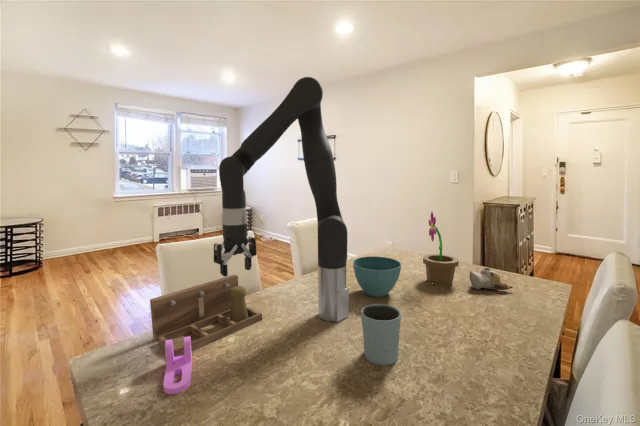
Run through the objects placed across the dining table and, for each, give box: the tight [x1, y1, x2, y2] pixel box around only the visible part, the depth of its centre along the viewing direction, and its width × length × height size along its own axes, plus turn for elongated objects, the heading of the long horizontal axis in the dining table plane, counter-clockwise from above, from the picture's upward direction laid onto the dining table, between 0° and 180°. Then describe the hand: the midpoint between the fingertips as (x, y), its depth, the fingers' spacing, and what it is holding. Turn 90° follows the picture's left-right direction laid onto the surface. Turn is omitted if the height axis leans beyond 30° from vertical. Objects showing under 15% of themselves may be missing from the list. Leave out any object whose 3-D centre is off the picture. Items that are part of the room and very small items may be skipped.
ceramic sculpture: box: [469, 267, 513, 291], centre depth 129 cm, size 11×9×15 cm
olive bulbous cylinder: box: [229, 285, 249, 323], centre depth 103 cm, size 6×6×11 cm
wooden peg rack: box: [149, 274, 263, 357], centre depth 98 cm, size 14×28×12 cm, turn 139°
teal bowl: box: [352, 255, 402, 298], centre depth 125 cm, size 18×18×12 cm
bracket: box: [162, 335, 193, 395], centre depth 76 cm, size 13×6×7 cm, turn 20°
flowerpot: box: [422, 211, 460, 286], centre depth 135 cm, size 14×14×30 cm
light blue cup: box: [360, 303, 402, 366], centre depth 83 cm, size 10×10×12 cm
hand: (236, 272), depth 102 cm, fingers open, 8 cm apart
